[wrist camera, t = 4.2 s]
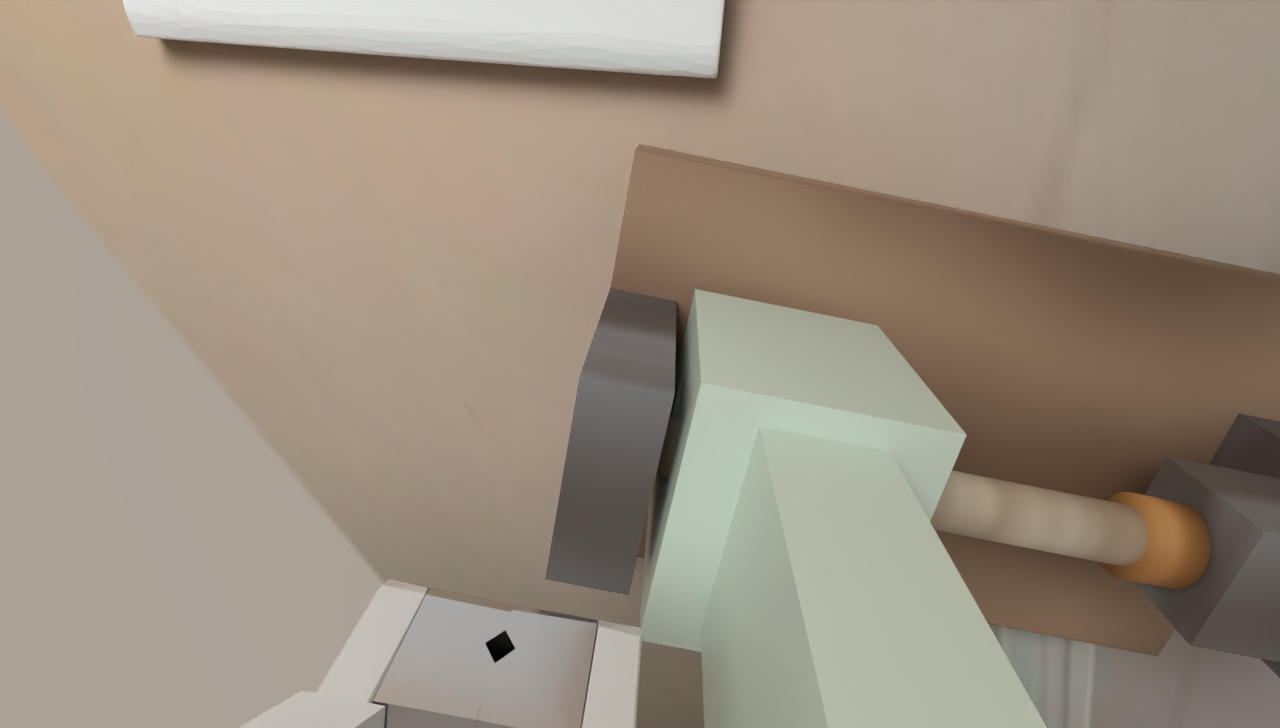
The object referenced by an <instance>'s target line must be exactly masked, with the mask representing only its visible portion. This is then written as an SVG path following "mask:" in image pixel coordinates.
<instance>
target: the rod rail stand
mask: <svg viewBox="0 0 1280 728" xmlns="http://www.w3.org/2000/svg"><path fill="white" fill-rule="evenodd" d="M695 289H698V290H703V291H708V292H713V293H718V294H723V295H728V296H733V297H738V298H743V299H748V300H753V301H758V302H763V303H768V304H773V305H778V306H783V307H788V308H793V309H798V310H803V311H808V312H813V313H818V314H823V315H828V316H833V317H838V318H843V319H848V320H853V321H858V322H863V323H868V324H873V325H878V327H879V328H880V329H881V330H882V331H883V333H884V334H885V335H886V336H887V338H888V339H889V340H890V341H891V342H892V344H893V345H894V346H895V347H896V349H897V350H898V351H899V352H900V354H901V355H902V356H903V357H904V358H905V360H906V361H907V362H908V363H909V365H910V366H911V367H912V368H913V369H914V371H915V372H916V373H917V374H918V376H919V377H920V378H921V379H922V381H923V382H924V383H925V384H926V385H927V387H928V388H929V389H930V390H931V392H932V393H933V394H934V395H935V396H936V398H937V399H938V400H939V401H940V403H941V404H942V405H943V406H944V408H945V409H946V410H947V411H948V412H949V414H950V415H951V416H952V417H953V419H954V420H955V421H956V422H957V424H958V425H959V426H960V427H961V428H962V430H963V431H964V432H965V433H966V438H965V440H964V443H963V445H962V447H961V450H960V452H959V454H958V457H957V459H956V462H955V464H954V466H953V469H952V471H951V473H950V476H949V478H948V480H947V483H946V485H945V488H944V490H943V492H942V495H941V497H940V499H939V502H938V504H937V507H936V509H935V511H934V514H933V516H932V518H931V521H930V523H931V524H932V526H933V528H934V530H935V531H936V533H937V535H938V537H939V539H940V540H941V542H942V544H943V546H944V547H945V549H946V551H947V553H948V554H949V556H950V558H951V560H952V561H953V563H954V565H955V567H956V568H957V570H958V572H959V574H960V575H961V577H962V579H963V581H964V582H965V584H966V586H967V588H968V590H969V591H970V593H971V595H972V597H973V598H974V600H975V602H976V604H977V605H978V607H979V609H980V611H981V612H982V614H983V616H984V618H985V619H986V621H987V623H988V624H993V625H998V626H1004V627H1009V628H1014V629H1019V630H1024V631H1030V632H1035V633H1040V634H1045V635H1051V636H1056V637H1061V638H1066V639H1071V640H1077V641H1082V642H1087V643H1092V644H1098V645H1103V646H1108V647H1113V648H1118V649H1124V650H1129V651H1134V652H1139V653H1144V654H1150V655H1155V656H1158V654H1159V653H1160V651H1161V649H1162V648H1163V646H1164V645H1165V643H1166V641H1167V640H1168V638H1169V637H1170V635H1171V634H1172V632H1173V630H1174V629H1175V628H1176V629H1177V631H1178V632H1179V633H1180V634H1181V635H1182V636H1183V637H1184V638H1185V639H1186V640H1187V642H1188V643H1189V644H1190V645H1192V646H1198V647H1203V648H1208V649H1213V650H1218V651H1224V652H1229V653H1234V654H1239V655H1244V656H1250V657H1255V658H1260V659H1261V660H1262V661H1263V662H1265V663H1266V664H1267V665H1268V666H1269V667H1270V668H1271V669H1272V670H1273V671H1274V672H1275V673H1276V674H1277V675H1278V676H1279V677H1280V275H1279V274H1275V273H1270V272H1265V271H1260V270H1255V269H1250V268H1245V267H1240V266H1235V265H1230V264H1225V263H1220V262H1215V261H1211V260H1206V259H1201V258H1196V257H1191V256H1186V255H1181V254H1176V253H1171V252H1166V251H1161V250H1156V249H1152V248H1147V247H1142V246H1137V245H1132V244H1127V243H1122V242H1117V241H1112V240H1107V239H1102V238H1097V237H1093V236H1088V235H1083V234H1078V233H1073V232H1068V231H1063V230H1058V229H1053V228H1048V227H1043V226H1038V225H1034V224H1029V223H1024V222H1019V221H1014V220H1009V219H1004V218H999V217H994V216H989V215H984V214H979V213H975V212H970V211H965V210H960V209H955V208H950V207H945V206H940V205H935V204H930V203H925V202H920V201H916V200H911V199H906V198H901V197H896V196H891V195H886V194H881V193H876V192H871V191H866V190H861V189H857V188H852V187H847V186H842V185H837V184H832V183H827V182H822V181H817V180H812V179H807V178H802V177H798V176H793V175H788V174H783V173H778V172H773V171H768V170H763V169H758V168H753V167H748V166H743V165H739V164H734V163H729V162H724V161H719V160H714V159H709V158H704V157H699V156H694V155H689V154H684V153H680V152H675V151H670V150H665V149H660V148H655V147H650V146H645V145H640V144H639V146H638V147H637V149H636V150H635V155H634V160H633V166H632V172H631V177H630V183H629V188H628V194H627V200H626V205H625V211H624V216H623V222H622V227H621V233H620V239H619V244H618V250H617V255H616V261H615V267H614V272H613V278H612V283H611V289H610V291H609V294H608V297H607V300H606V303H605V306H604V309H603V311H602V314H601V317H600V320H599V323H598V326H597V329H596V332H595V334H594V337H593V340H592V343H591V346H590V349H589V352H588V354H587V357H586V360H585V363H584V366H583V369H582V372H581V375H580V379H579V385H578V390H577V396H576V402H575V408H574V414H573V420H572V426H571V432H570V437H569V443H568V449H567V455H566V461H565V467H564V473H563V479H562V484H561V490H560V496H559V502H558V508H557V514H556V520H555V526H554V532H553V537H552V543H551V549H550V555H549V561H548V567H547V573H546V579H548V580H553V581H558V582H563V583H569V584H574V585H579V586H584V587H590V588H595V589H600V590H605V591H611V592H616V593H621V594H626V595H628V594H629V590H630V586H631V581H632V577H633V573H634V568H635V564H636V560H637V556H638V557H644V558H645V545H646V533H647V520H648V508H649V503H650V499H651V495H652V490H653V486H654V482H655V477H656V476H659V477H664V478H668V474H669V470H670V466H671V461H672V457H673V453H674V449H675V445H676V440H677V436H678V432H679V428H680V417H677V416H672V415H670V412H671V408H672V404H673V399H674V395H675V375H676V370H677V366H678V362H679V357H680V353H681V348H682V344H683V340H684V335H685V331H686V326H687V322H688V318H689V313H690V309H691V305H692V300H693V296H694V291H695Z"/></svg>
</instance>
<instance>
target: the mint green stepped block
mask: <svg viewBox="0 0 1280 728" xmlns="http://www.w3.org/2000/svg"><path fill="white" fill-rule="evenodd" d="M670 415H672V416H677V417H680V428H679V432H678V436H677V440H676V445H675V449H674V453H673V457H672V461H671V466H670V470H669V474H668V478H664V477H659V476H656V477H655V482H654V486H653V490H652V495H651V499H650V503H649V508H648V520H647V533H646V545H645V558H644V571H643V584H642V597H641V609H640V622H639V627H640V630H641V632H642V641H645V642H650V643H655V644H661V645H666V646H671V647H677V648H682V649H687V650H692V651H698V652H702V681H703V709H704V728H1047V727H1046V725H1045V723H1044V721H1043V720H1042V718H1041V716H1040V714H1039V713H1038V711H1037V709H1036V707H1035V706H1034V704H1033V702H1032V700H1031V699H1030V697H1029V695H1028V693H1027V692H1026V690H1025V688H1024V686H1023V685H1022V683H1021V681H1020V679H1019V677H1018V676H1017V674H1016V672H1015V670H1014V669H1013V667H1012V665H1011V663H1010V662H1009V660H1008V658H1007V656H1006V655H1005V653H1004V651H1003V649H1002V648H1001V646H1000V644H999V642H998V641H997V639H996V637H995V635H994V634H993V632H992V630H991V628H990V626H989V625H988V623H987V621H986V619H985V618H984V616H983V614H982V612H981V611H980V609H979V607H978V605H977V604H976V602H975V600H974V598H973V597H972V595H971V593H970V591H969V590H968V588H967V586H966V584H965V582H964V581H963V579H962V577H961V575H960V574H959V572H958V570H957V568H956V567H955V565H954V563H953V561H952V560H951V558H950V556H949V554H948V553H947V551H946V549H945V547H944V546H943V544H942V542H941V540H940V539H939V537H938V535H937V533H936V531H935V530H934V528H933V526H932V524H931V523H930V521H931V518H932V516H933V514H934V511H935V509H936V507H937V504H938V502H939V499H940V497H941V495H942V492H943V490H944V488H945V485H946V483H947V480H948V478H949V476H950V473H951V471H952V469H953V466H954V464H955V462H956V459H957V457H958V454H959V452H960V450H961V447H962V445H963V443H964V440H965V438H966V433H965V432H964V431H963V430H962V428H961V427H960V426H959V425H958V424H957V422H956V421H955V420H954V419H953V417H952V416H951V415H950V414H949V412H948V411H947V410H946V409H945V408H944V406H943V405H942V404H941V403H940V401H939V400H938V399H937V398H936V396H935V395H934V394H933V393H932V392H931V390H930V389H929V388H928V387H927V385H926V384H925V383H924V382H923V381H922V379H921V378H920V377H919V376H918V374H917V373H916V372H915V371H914V369H913V368H912V367H911V366H910V365H909V363H908V362H907V361H906V360H905V358H904V357H903V356H902V355H901V354H900V352H899V351H898V350H897V349H896V347H895V346H894V345H893V344H892V342H891V341H890V340H889V339H888V338H887V336H886V335H885V334H884V333H883V331H882V330H881V329H880V328H879V327H878V325H873V324H868V323H863V322H858V321H853V320H848V319H843V318H838V317H833V316H828V315H823V314H818V313H813V312H808V311H803V310H798V309H793V308H788V307H783V306H778V305H773V304H768V303H763V302H758V301H753V300H748V299H743V298H738V297H733V296H728V295H723V294H718V293H713V292H708V291H703V290H698V289H695V291H694V296H693V300H692V305H691V309H690V313H689V318H688V322H687V326H686V331H685V335H684V340H683V344H682V348H681V353H680V357H679V362H678V366H677V370H676V375H675V395H674V399H673V404H672V408H671V412H670Z"/></svg>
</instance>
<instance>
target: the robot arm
mask: <svg viewBox="0 0 1280 728" xmlns="http://www.w3.org/2000/svg"><path fill="white" fill-rule="evenodd" d="M641 646H642V632H641V630H640V627H635V626H629V625H623V624H618V623H612V622H606V621H601V620H599V621H598V623H597V620H593V619H587V618H582V617H576V616H571V615H565V614H560V613H554V612H549V611H544V610H538V609H533V608H527V607H522V606H516V605H515V606H514V605H510V604H505V603H501V602H496V601H491V600H487V599H482V598H478V597H473V596H468V595H464V594H459V593H455V592H450V591H446V590H441V589H436V588H431V589H430V588H426V587H422V586H418V585H413V584H409V583H404V582H400V581H395V580H391V579H389V580H387V581H386V582H385V583H384V584H383V585H381V586H380V587H379V588H378V590H377V592H376V593H375V595H374V597H373V598H372V600H371V602H370V603H369V605H368V607H367V608H366V610H365V611H364V613H363V615H362V617H361V618H360V620H359V622H358V623H357V625H356V627H355V628H354V630H353V631H352V633H351V635H350V636H349V638H348V640H347V641H346V643H345V645H344V647H343V648H342V650H341V651H340V653H339V655H338V656H337V658H336V660H335V661H334V663H333V664H332V666H331V668H330V669H329V671H328V673H327V674H326V676H325V678H324V679H323V681H322V683H321V684H320V686H319V688H318V689H317V691H316V692H309V691H304V690H301V691H299V692H297V693H296V694H294V695H293V696H290V697H289V698H287V699H285V700H284V701H282V702H280V703H279V704H277V705H275V706H274V707H272V708H270V709H269V710H267V711H265V712H264V713H262V714H260V715H258V716H257V717H255V718H254V719H252V720H250V721H249V722H247V723H245V724H243V725H242V726H240V727H238V728H636V718H637V704H638V689H639V675H640V660H641Z"/></svg>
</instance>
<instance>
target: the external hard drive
mask: <svg viewBox="0 0 1280 728" xmlns="http://www.w3.org/2000/svg"><path fill="white" fill-rule="evenodd" d="M122 1H123V5H124V8H125V11H126V14H127V17H128V19H129V22H130V24H131V26H132V29H133V31H134V33H135V34H136V35H137V36H140V37H147V38H158V39H170V40H182V41H194V42H211V43H222V44H235V45H250V46H263V47H276V48H290V49H303V50H317V51H330V52H343V53H356V54H370V55H383V56H397V57H411V58H426V59H440V60H454V61H469V62H483V63H497V64H510V65H523V66H538V67H552V68H566V69H580V70H595V71H609V72H623V73H637V74H651V75H667V76H684V77H697V78H713V79H715V78H717V74H718V65H719V56H720V46H721V36H722V26H723V16H724V6H725V0H122Z"/></svg>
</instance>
